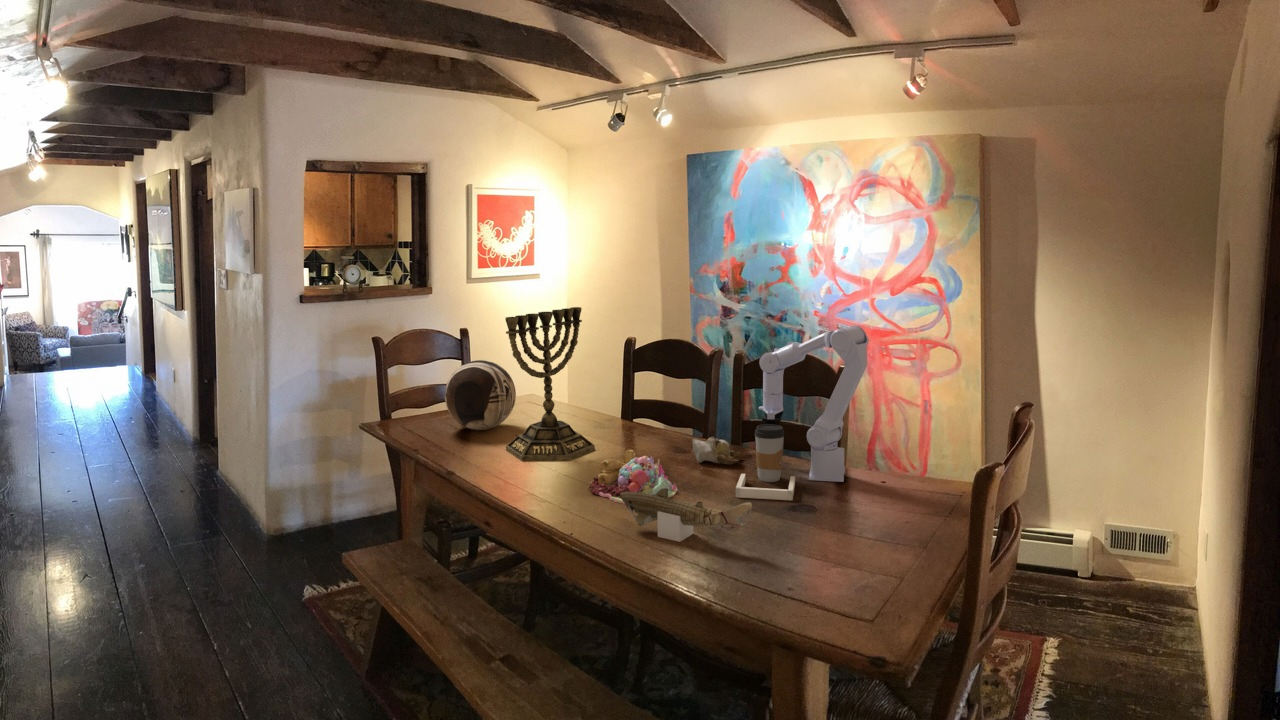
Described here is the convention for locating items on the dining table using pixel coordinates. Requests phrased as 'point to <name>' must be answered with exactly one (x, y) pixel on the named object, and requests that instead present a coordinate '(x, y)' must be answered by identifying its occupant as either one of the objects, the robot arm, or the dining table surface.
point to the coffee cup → (769, 451)
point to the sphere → (480, 395)
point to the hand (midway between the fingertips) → (772, 437)
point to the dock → (764, 491)
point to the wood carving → (681, 514)
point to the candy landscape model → (630, 477)
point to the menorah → (547, 388)
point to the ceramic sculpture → (714, 451)
